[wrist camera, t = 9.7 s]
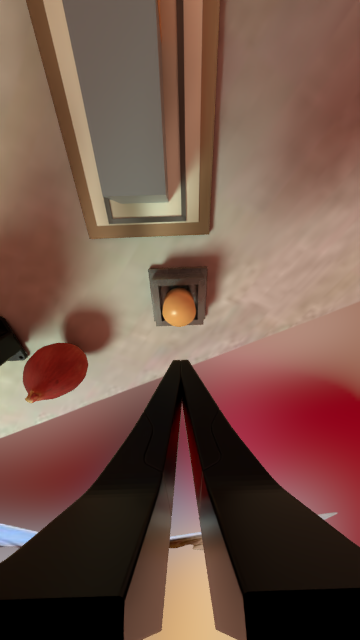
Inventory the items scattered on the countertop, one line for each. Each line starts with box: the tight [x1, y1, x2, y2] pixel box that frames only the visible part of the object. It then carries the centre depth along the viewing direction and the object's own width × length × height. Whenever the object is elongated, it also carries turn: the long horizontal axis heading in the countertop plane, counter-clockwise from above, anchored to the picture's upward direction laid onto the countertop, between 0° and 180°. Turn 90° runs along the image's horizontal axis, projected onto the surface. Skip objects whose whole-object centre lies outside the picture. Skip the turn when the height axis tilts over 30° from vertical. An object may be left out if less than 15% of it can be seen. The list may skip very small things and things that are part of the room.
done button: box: [162, 288, 196, 327], centre depth 16 cm, size 3×3×2 cm
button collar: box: [148, 267, 207, 326], centre depth 18 cm, size 6×6×2 cm
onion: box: [23, 343, 88, 403], centre depth 19 cm, size 6×6×8 cm
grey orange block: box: [62, 0, 169, 204], centre depth 10 cm, size 4×10×4 cm, turn 1°
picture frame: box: [26, 0, 220, 239], centre depth 12 cm, size 11×15×1 cm
